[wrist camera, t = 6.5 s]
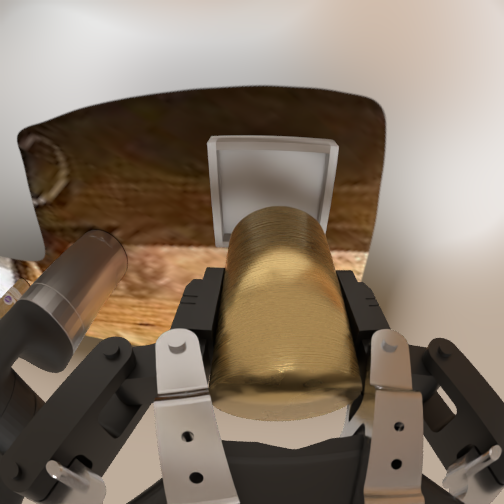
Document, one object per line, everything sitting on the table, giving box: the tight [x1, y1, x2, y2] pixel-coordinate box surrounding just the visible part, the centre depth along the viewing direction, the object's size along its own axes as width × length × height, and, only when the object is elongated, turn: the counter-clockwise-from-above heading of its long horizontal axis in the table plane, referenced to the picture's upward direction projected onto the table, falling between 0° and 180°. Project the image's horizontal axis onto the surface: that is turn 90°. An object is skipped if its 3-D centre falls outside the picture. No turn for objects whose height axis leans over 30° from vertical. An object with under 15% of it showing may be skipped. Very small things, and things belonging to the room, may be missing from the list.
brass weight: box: [209, 206, 362, 421], centre depth 10 cm, size 4×4×7 cm
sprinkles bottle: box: [0, 278, 30, 319], centre depth 37 cm, size 5×5×13 cm
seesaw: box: [207, 136, 339, 247], centre depth 29 cm, size 33×9×4 cm, turn 0°
